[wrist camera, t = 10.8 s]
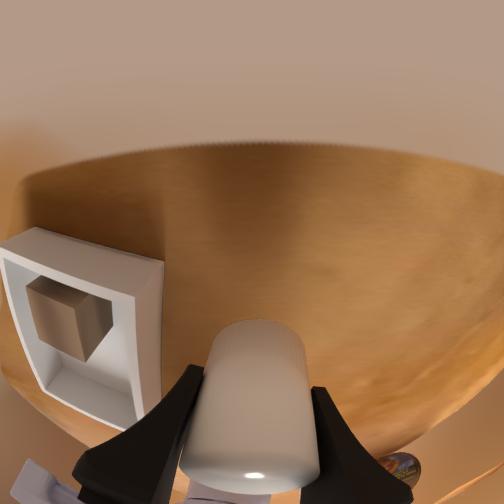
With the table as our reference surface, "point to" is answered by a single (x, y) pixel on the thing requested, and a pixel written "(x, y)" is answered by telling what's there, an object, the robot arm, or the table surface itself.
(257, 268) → the table surface
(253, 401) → the ceramic cylinder
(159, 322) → the tote
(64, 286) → the walnut cube
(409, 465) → the tin
